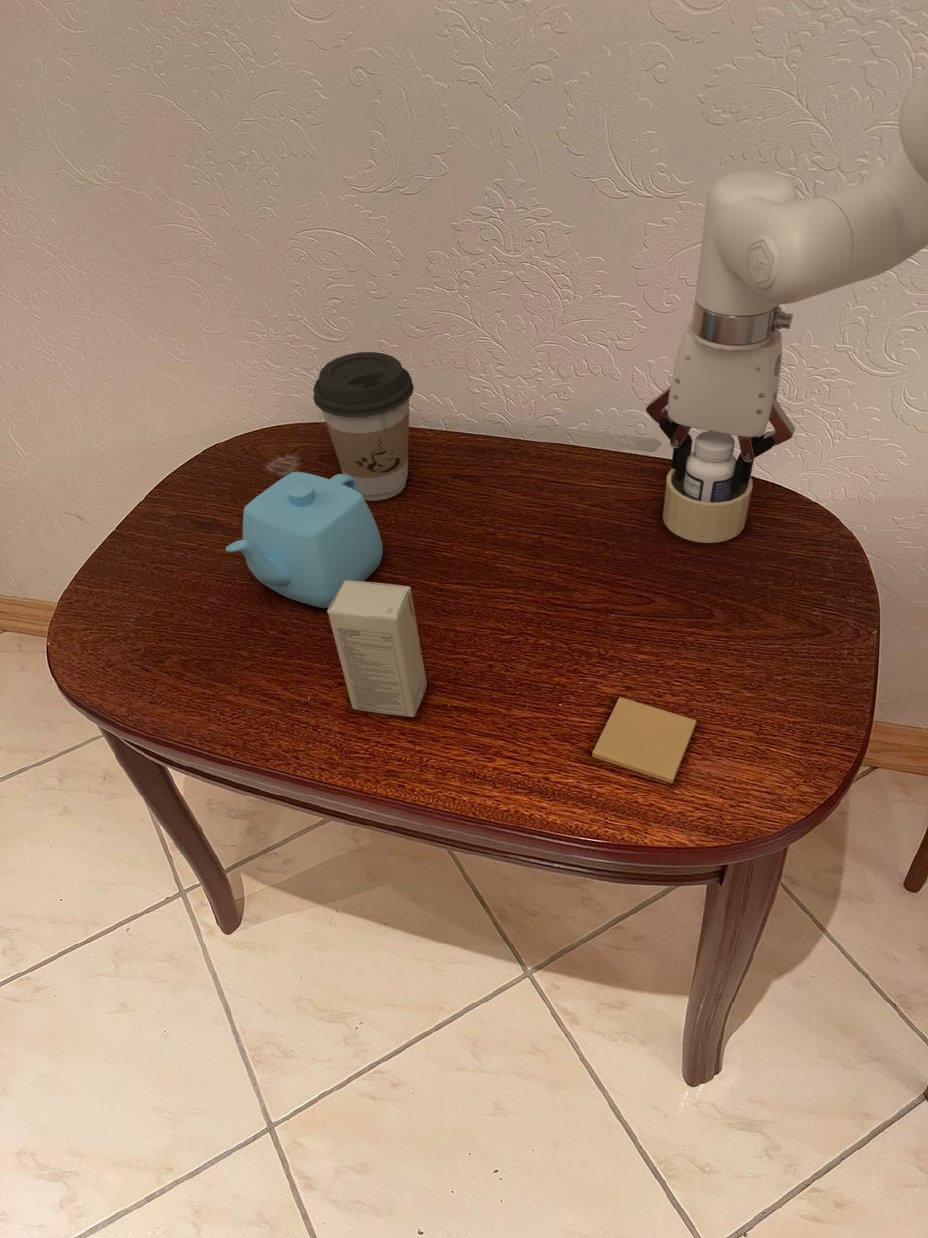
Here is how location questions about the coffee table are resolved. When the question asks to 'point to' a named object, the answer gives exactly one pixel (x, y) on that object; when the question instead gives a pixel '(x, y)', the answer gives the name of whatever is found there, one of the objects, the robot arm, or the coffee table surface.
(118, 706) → the coffee table surface
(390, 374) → the coffee cup
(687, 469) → the pill bottle
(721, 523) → the bucket
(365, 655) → the cosmetic box
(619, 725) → the mat
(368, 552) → the teapot
